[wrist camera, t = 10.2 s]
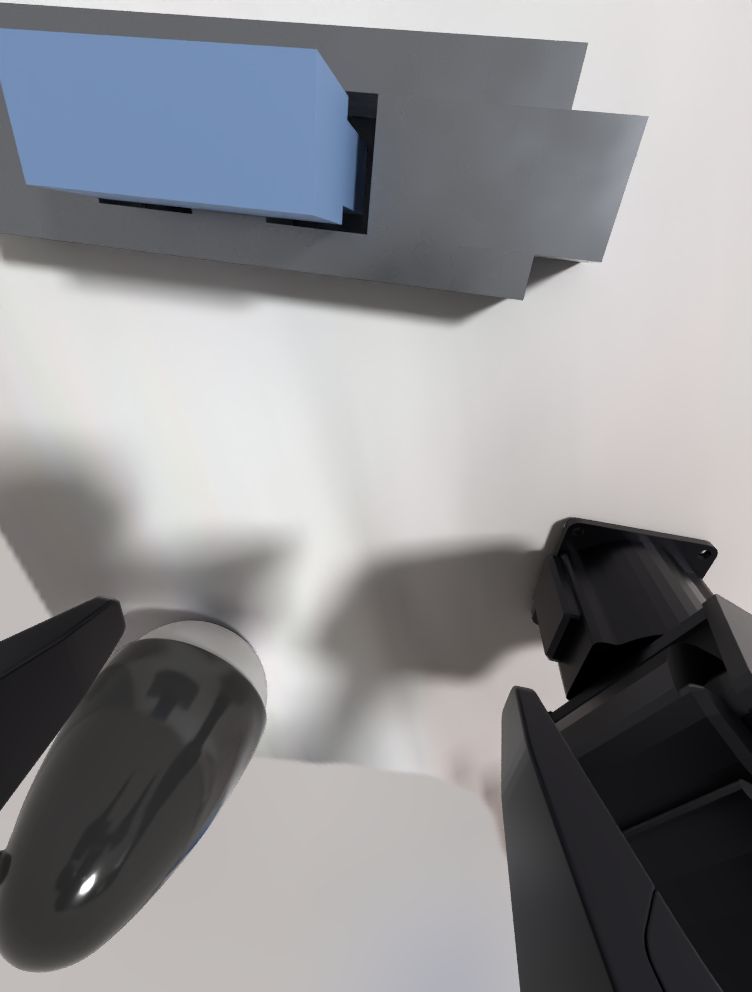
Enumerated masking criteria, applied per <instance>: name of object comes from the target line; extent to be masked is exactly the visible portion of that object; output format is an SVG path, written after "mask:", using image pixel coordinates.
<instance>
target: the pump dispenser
mask: <svg viewBox="0 0 752 992" xmlns="http://www.w3.org/2000/svg"><path fill="white" fill-rule="evenodd" d="M266 702H267V681H266V676H265V672H264V669H263V666H262V664H261V661H260V659H259V658H258V656H257V654H256V653H255V651H254V650H253V649H252V648H251V646H250V645H249V644H248V643H247V642H246V641H244V640H243V639H242V638H241V637H240V636H238V635H237V634H235V633H234V632H232V631H230V630H228V629H227V628H224V627H222V626H219V625H217V624H213V623H209V622H204V621H194V620H188V621H179V622H174V623H170V624H167V625H163V626H161V627H159V628H156V629H154V630H152V631H150V632H149V633H147V634H145V635H144V636H142V637H141V638H139V639H138V640H136V641H133V642H130V643H128V644H126V645H124V646H123V647H121V648H120V649H119V650H118V651H117V652H116V653H115V654H114V655H113V656H112V657H111V658H110V659H109V661H108V662H107V663H106V664H105V665H104V667H103V668H102V670H101V671H100V673H99V675H98V676H97V678H96V680H95V681H94V683H93V684H92V686H91V688H90V689H89V691H88V692H87V694H86V695H85V697H84V698H83V700H82V701H81V702H80V704H79V705H78V707H77V708H76V709H75V711H74V712H73V713H72V715H71V716H70V717H69V719H68V720H67V722H66V723H65V724H64V726H63V727H62V728H61V730H60V732H59V733H58V735H57V737H56V739H55V740H54V742H53V744H52V746H51V748H50V749H49V751H48V753H47V755H46V757H45V759H44V761H43V763H42V765H41V767H40V769H39V771H38V773H37V775H36V777H35V779H34V781H33V783H32V785H31V787H30V789H29V792H28V794H27V796H26V798H25V801H24V803H23V806H22V808H21V810H20V813H19V816H18V818H17V821H16V824H15V827H14V830H13V832H12V835H11V838H10V840H9V842H8V845H7V847H6V849H4V850H1V851H0V954H1V955H2V957H3V958H4V959H5V960H6V961H7V962H8V963H10V964H11V965H12V966H14V967H16V968H18V969H20V970H23V971H28V972H50V971H55V970H59V969H62V968H65V967H68V966H71V965H73V964H75V963H77V962H79V961H81V960H83V959H85V958H86V957H88V956H89V955H91V954H92V953H94V952H95V951H96V950H98V949H99V948H100V947H101V946H102V945H104V944H105V943H106V942H107V941H108V940H110V939H111V938H112V937H113V936H114V935H115V934H116V933H117V932H118V931H120V930H121V929H122V928H123V927H124V926H125V925H126V924H127V923H128V922H129V921H130V920H131V919H132V918H133V917H134V916H135V915H136V914H137V913H138V912H139V911H140V910H141V909H142V908H143V906H144V905H145V904H146V903H147V902H148V901H149V900H150V899H151V898H152V896H154V894H155V893H156V892H157V891H158V890H159V889H160V888H161V886H162V885H163V884H164V883H165V882H166V881H167V880H168V878H169V877H170V876H171V875H172V874H173V873H174V871H175V870H176V869H177V868H178V867H179V865H180V864H181V863H182V862H183V860H184V859H185V858H186V857H187V855H188V854H189V853H190V852H191V850H192V849H193V848H194V847H195V845H196V844H197V843H198V841H199V840H200V839H201V837H202V836H203V835H204V833H205V832H206V830H207V829H208V828H209V826H210V825H211V824H212V822H213V821H214V819H215V818H216V816H217V815H218V813H219V812H220V810H221V809H222V807H223V806H224V804H225V803H226V801H227V799H228V798H229V796H230V794H231V793H232V791H233V789H234V788H235V786H236V785H237V783H238V781H239V779H240V778H241V776H242V774H243V772H244V770H245V769H246V767H247V765H248V764H249V762H250V760H251V758H252V756H253V754H254V753H255V751H256V749H257V746H258V744H259V742H260V740H261V737H262V735H263V732H264V730H265V727H266V721H267V716H266Z"/></svg>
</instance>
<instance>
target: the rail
mask: <svg viewBox="0 0 752 992" xmlns="http://www.w3.org/2000/svg"><path fill="white" fill-rule="evenodd" d="M0 28H5V29H20V30H35V31H50V32H65V33H80V34H95V35H110V36H125V37H141V38H156V39H171V40H186V41H201V42H216V43H231V44H246V45H261V46H276V47H292V48H307V49H317V50H318V52H319V53H320V55H321V56H322V58H323V59H324V61H325V62H326V64H327V65H328V67H329V68H330V70H331V71H332V73H333V74H334V76H335V77H336V79H337V80H338V82H339V83H340V85H341V86H342V88H343V89H344V91H345V92H346V94H347V95H348V115H347V116H357V117H369V118H376V130H375V142H374V154H373V167H372V179H371V191H370V204H369V216H368V229H367V235H366V234H357V233H349V232H340V231H332V230H323V229H315V228H306V227H298V226H292V219H285V218H276V217H267V216H258V215H248V214H239V213H230V212H221V211H212V210H203V209H193V208H192V214H188V213H179V212H171V211H162V210H154V209H146V207H145V203H138V202H129V201H120V200H111V199H104V198H98V197H93V196H87V195H82V194H76V193H71V192H65V191H60V190H55V189H49V188H44V187H38V186H33V185H27V184H26V182H25V178H24V174H23V170H22V166H21V162H20V158H19V154H18V150H17V146H16V142H15V138H14V134H13V130H12V126H11V122H10V118H9V114H8V110H7V106H6V102H5V98H4V94H3V90H2V86H1V82H0V233H4V234H12V235H20V236H27V237H35V238H43V239H51V240H58V241H66V242H74V243H82V244H90V245H97V246H105V247H113V248H121V249H128V250H136V251H144V252H152V253H160V254H167V255H175V256H183V257H191V258H198V259H206V260H214V261H222V262H230V263H237V264H245V265H253V266H261V267H268V268H276V269H284V270H292V271H300V272H307V273H315V274H323V275H331V276H338V277H346V278H354V279H362V280H369V281H377V282H385V283H393V284H401V285H408V286H416V287H424V288H432V289H439V290H447V291H455V292H463V293H471V294H478V295H486V296H494V297H502V298H509V299H517V300H523V298H524V294H525V290H526V286H527V282H528V278H529V275H530V271H531V267H532V263H533V259H534V257H541V258H550V259H558V260H567V261H575V262H602V259H603V256H604V253H605V250H606V246H607V243H608V240H609V237H610V234H611V231H612V228H613V225H614V222H615V219H616V216H617V212H618V209H619V206H620V203H621V200H622V197H623V194H624V191H625V188H626V185H627V182H628V179H629V175H630V172H631V169H632V166H633V163H634V160H635V157H636V154H637V151H638V148H639V145H640V142H641V138H642V135H643V132H644V129H645V126H646V123H647V120H648V117H649V116H637V115H625V114H614V113H602V112H590V111H578V110H571V109H572V105H573V101H574V97H575V93H576V89H577V85H578V81H579V77H580V73H581V69H582V65H583V61H584V57H585V54H586V50H587V46H588V43H584V42H569V41H554V40H540V39H525V38H510V37H496V36H481V35H467V34H452V33H437V32H423V31H408V30H394V29H379V28H364V27H350V26H335V25H320V24H306V23H291V22H277V21H262V20H247V19H233V18H218V17H204V16H189V15H174V14H160V13H145V12H131V11H116V10H101V9H87V8H72V7H57V6H43V5H28V4H14V3H0Z"/></svg>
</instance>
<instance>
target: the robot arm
mask: <svg viewBox="0 0 752 992" xmlns="http://www.w3.org/2000/svg"><path fill="white" fill-rule="evenodd" d="M577 527H580V528H582V529H581V530H580V531H578V532H573V529H574V528H577ZM703 550H706V551H705V552H704V553H702V554H699V553H700V552H701V551H703ZM717 554H718V552H717V549H716V548H715V547H714V546H713V545H712V544H711V543H710V542H708V541H705V540H700V539H694V538H688V537H683V536H677V535H671V534H666V533H660V532H654V531H649V530H643V529H637V528H632V527H626V526H620V525H615V524H609V523H603V522H598V521H592V520H586V519H581V518H574V519H571V520H569V521H568V522H567V523H566V525H565V527H564V529H563V532H562V534H561V537H560V539H559V542H558V545H557V547H556V550H555V552H554V555H551V556H549V557H548V558H547V559H546V561H545V564H544V566H543V569H542V571H541V574H540V577H539V579H538V582H537V584H536V587H535V590H534V592H533V600H534V606H533V608H532V611H531V616H532V620H533V622H534V623H536V624H538V625H539V628H540V633H541V637H542V642H543V647H544V651H545V655H546V656H547V658H548V659H549V660H551V661H555V662H558V666H559V670H560V674H561V678H562V682H563V686H564V690H565V694H566V698H567V699H568V700H569V701H568V702H567V703H565V704H564V705H562V706H561V707H560V708H558V709H557V710H555V711H554V712H551V711H549V712H547V710H546V709H545V707H544V705H543V704H542V702H541V700H540V699H539V697H538V696H537V694H536V693H535V691H533V690H532V689H529V688H525V687H520V686H514V687H513V688H512V689H511V691H510V694H509V696H508V698H507V701H506V703H505V706H504V708H503V712H502V745H501V798H502V811H503V822H504V832H505V842H506V852H507V862H508V871H509V882H510V891H511V902H512V912H513V922H514V932H515V942H516V953H517V963H518V973H519V983H520V992H752V615H751V614H749V613H748V612H746V611H744V610H743V609H741V608H739V607H738V606H736V605H734V604H733V603H731V602H730V601H728V600H726V599H725V598H723V597H721V596H720V595H718V594H715V595H713V593H712V592H711V591H710V589H709V588H708V587H707V585H706V584H705V583H704V582H703V580H702V579H703V577H704V576H705V574H706V573H707V571H708V570H709V568H710V566H711V565H712V563H713V562H714V560H715V559H716V557H717ZM124 630H125V620H124V616H123V613H122V609H121V605H120V602H119V601H118V600H117V599H114V598H109V597H105V596H99V597H96V598H94V599H91V600H89V601H87V602H85V603H83V604H81V605H78V606H76V607H74V608H72V609H70V610H68V611H65V612H63V613H61V614H59V615H57V616H55V617H52V618H50V619H48V620H46V621H44V622H41V623H39V624H37V625H35V626H33V627H31V628H28V629H26V630H24V631H22V632H20V633H18V634H15V635H13V636H11V637H9V638H7V639H5V640H2V641H0V810H1V809H2V808H3V806H4V805H5V804H6V802H7V801H8V800H9V798H10V797H11V796H12V794H13V793H14V792H15V790H16V789H17V787H18V786H19V785H20V783H21V782H22V781H23V779H24V778H25V777H26V775H27V774H28V773H29V771H30V770H31V769H32V767H33V766H34V765H35V763H36V762H37V761H38V759H39V758H40V756H41V755H42V754H43V752H44V751H45V750H46V748H47V747H48V746H49V744H50V743H51V742H52V740H53V739H54V738H55V736H56V735H57V734H58V732H59V731H60V730H61V728H62V727H63V726H64V724H65V723H66V722H67V720H68V719H69V717H70V716H71V715H72V713H73V712H74V711H75V709H76V708H77V707H78V705H79V704H80V702H81V701H82V700H83V698H84V697H85V695H86V694H87V692H88V691H89V689H90V688H91V686H92V684H93V683H94V681H95V680H96V678H97V676H98V675H99V673H100V671H101V670H102V668H103V666H104V665H105V663H106V662H107V660H108V658H109V657H110V655H111V653H112V652H113V650H114V648H115V647H116V645H117V643H118V642H119V640H120V639H121V637H122V635H123V633H124Z"/></svg>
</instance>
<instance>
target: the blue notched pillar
mask: <svg viewBox="0 0 752 992" xmlns="http://www.w3.org/2000/svg"><path fill="white" fill-rule="evenodd" d="M0 82H1V86H2V90H3V94H4V98H5V102H6V106H7V110H8V114H9V118H10V122H11V126H12V130H13V134H14V138H15V142H16V146H17V150H18V154H19V158H20V162H21V166H22V170H23V174H24V178H25V182H26V184H27V185H33V186H38V187H44V188H49V189H55V190H60V191H65V192H71V193H76V194H82V195H87V196H93V197H98V198H104V199H111V200H120V201H129V202H138V203H148V204H157V205H166V206H175V207H184V208H193V209H203V210H212V211H221V212H230V213H239V214H248V215H258V216H267V217H276V218H285V219H294V220H303V221H313V222H322V223H331V224H340V225H342V213H347V214H357V215H363V201H364V187H365V173H366V159H367V145H366V143H365V142H364V141H363V140H362V138H361V137H360V136H359V134H358V133H357V132H356V131H355V129H354V128H353V127H352V126H351V124H350V123H349V122H348V121H347V115H348V95H347V94H346V92H345V91H344V89H343V88H342V86H341V85H340V83H339V82H338V80H337V79H336V77H335V76H334V74H333V73H332V71H331V70H330V68H329V67H328V65H327V64H326V62H325V61H324V59H323V58H322V56H321V55H320V53H319V52H318V50H317V49H307V48H292V47H276V46H261V45H246V44H231V43H216V42H201V41H186V40H171V39H156V38H141V37H125V36H110V35H95V34H80V33H65V32H50V31H35V30H20V29H5V28H0Z"/></svg>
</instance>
